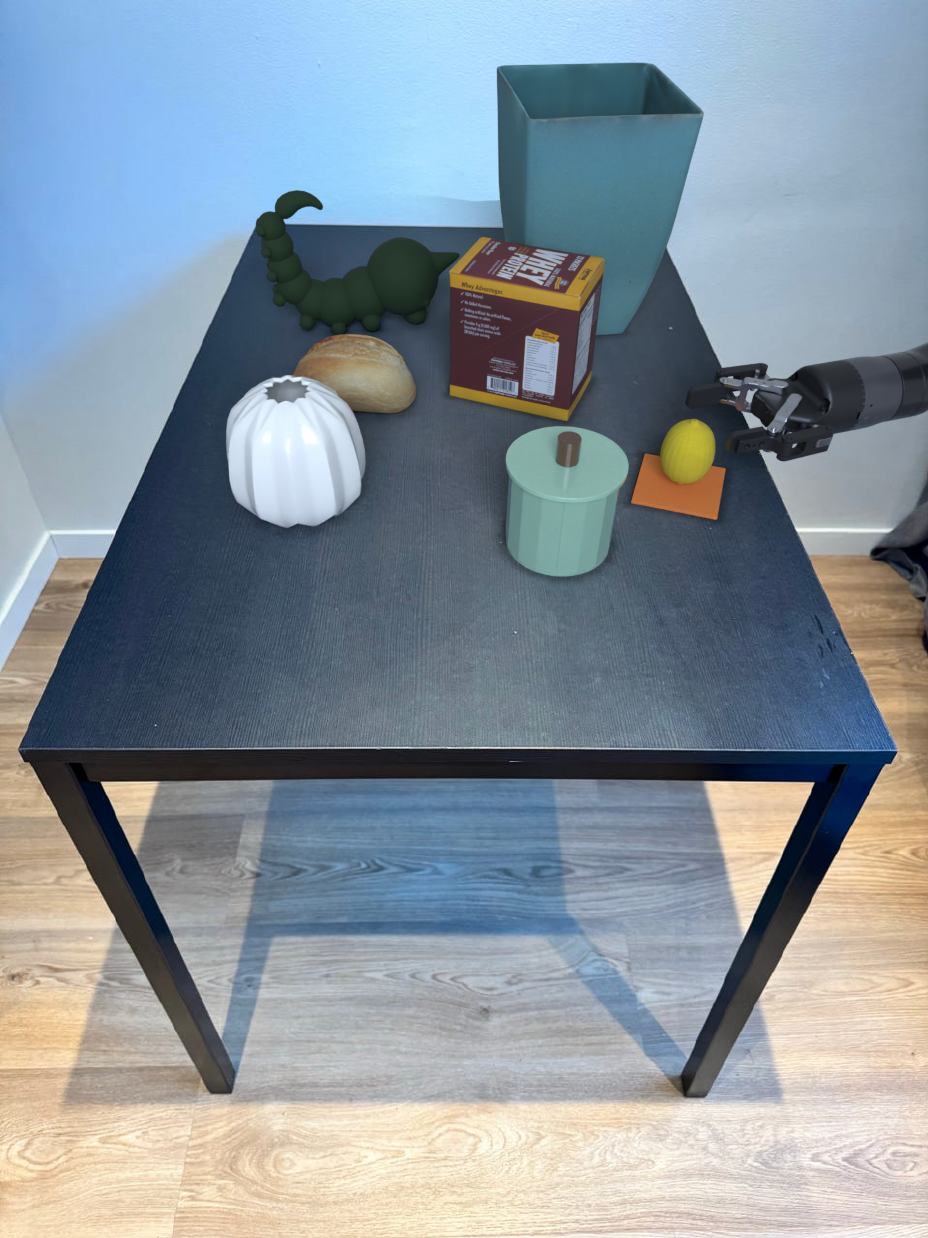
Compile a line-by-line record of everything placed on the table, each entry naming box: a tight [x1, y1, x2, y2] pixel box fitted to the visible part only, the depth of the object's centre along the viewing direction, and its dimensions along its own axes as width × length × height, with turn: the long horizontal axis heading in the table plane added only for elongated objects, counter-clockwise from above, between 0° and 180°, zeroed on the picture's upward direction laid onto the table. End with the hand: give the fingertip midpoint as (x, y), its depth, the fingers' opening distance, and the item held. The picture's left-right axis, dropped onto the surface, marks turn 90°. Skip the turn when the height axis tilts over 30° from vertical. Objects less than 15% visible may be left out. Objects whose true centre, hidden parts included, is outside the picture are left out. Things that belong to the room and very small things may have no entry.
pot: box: [504, 475, 621, 577], centre depth 85 cm, size 10×10×9 cm
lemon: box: [659, 418, 717, 485], centre depth 92 cm, size 6×6×8 cm
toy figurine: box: [255, 189, 461, 335], centre depth 113 cm, size 9×19×25 cm
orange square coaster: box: [630, 453, 727, 521], centre depth 95 cm, size 9×9×1 cm
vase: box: [225, 374, 367, 529], centre depth 88 cm, size 14×14×13 cm
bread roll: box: [292, 333, 417, 414], centre depth 103 cm, size 10×15×8 cm, turn 92°
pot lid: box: [504, 425, 630, 503], centre depth 81 cm, size 11×11×4 cm
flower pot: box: [496, 62, 705, 336], centre depth 111 cm, size 20×20×28 cm
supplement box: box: [448, 236, 605, 422], centre depth 103 cm, size 10×15×16 cm
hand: (707, 420), depth 90 cm, fingers open, 8 cm apart
